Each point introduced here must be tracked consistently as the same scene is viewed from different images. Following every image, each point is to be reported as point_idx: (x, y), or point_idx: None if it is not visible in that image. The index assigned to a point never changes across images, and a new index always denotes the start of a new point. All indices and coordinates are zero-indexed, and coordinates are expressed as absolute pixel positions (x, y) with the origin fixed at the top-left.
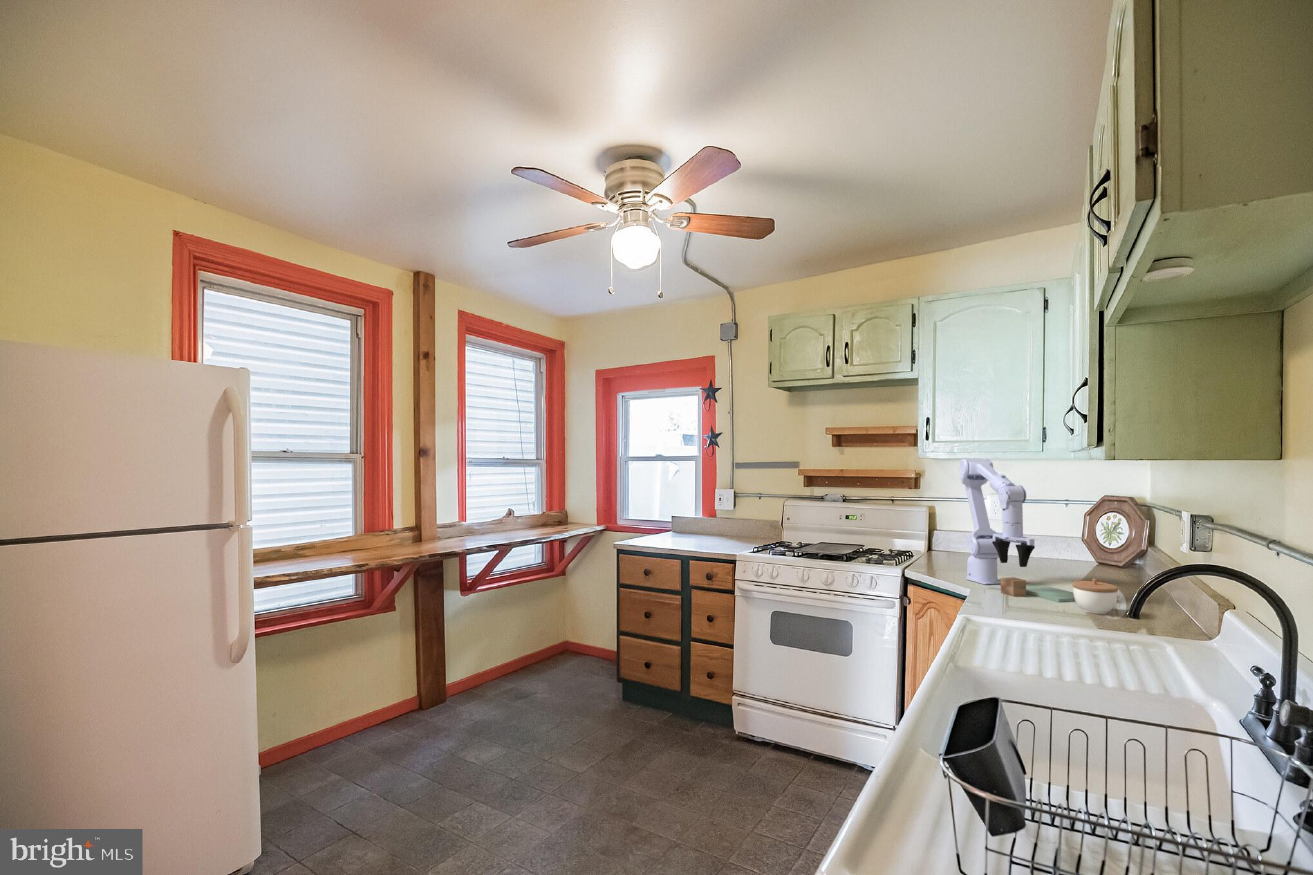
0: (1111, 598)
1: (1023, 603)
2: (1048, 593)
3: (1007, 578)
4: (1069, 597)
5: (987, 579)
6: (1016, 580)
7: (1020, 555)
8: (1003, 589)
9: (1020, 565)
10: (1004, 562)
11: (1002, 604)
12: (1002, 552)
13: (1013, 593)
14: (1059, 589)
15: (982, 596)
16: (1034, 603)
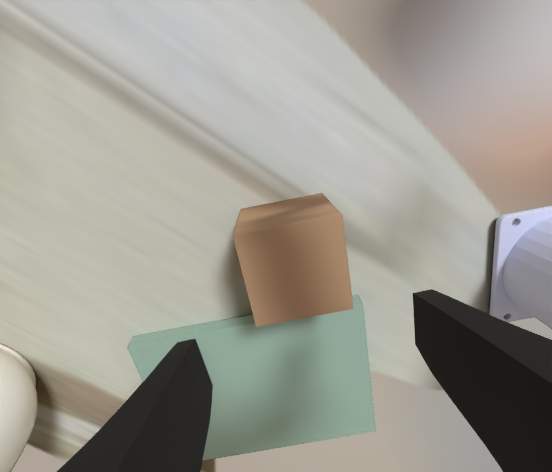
0: None
1: (85, 164)
2: (232, 365)
3: (316, 247)
4: None
5: (528, 250)
6: (250, 267)
7: (95, 448)
8: (307, 201)
9: (179, 345)
10: (416, 320)
11: (37, 14)
12: (502, 392)
13: (240, 214)
14: (300, 438)
15: (242, 13)
16: (94, 221)
